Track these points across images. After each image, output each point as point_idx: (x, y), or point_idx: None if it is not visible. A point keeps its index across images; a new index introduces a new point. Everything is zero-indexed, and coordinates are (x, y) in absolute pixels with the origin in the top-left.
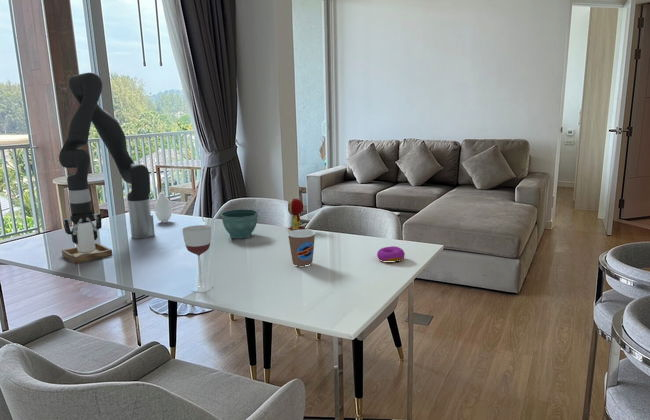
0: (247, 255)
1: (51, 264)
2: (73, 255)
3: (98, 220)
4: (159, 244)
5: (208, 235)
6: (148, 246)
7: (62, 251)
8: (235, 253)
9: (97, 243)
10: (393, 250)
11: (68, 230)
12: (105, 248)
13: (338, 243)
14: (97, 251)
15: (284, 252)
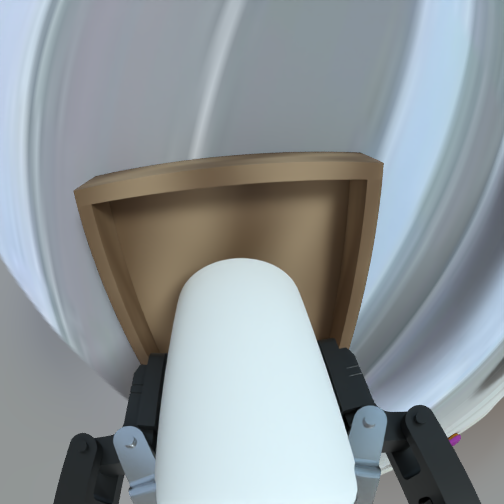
0: (441, 419)
1: (59, 300)
2: (155, 251)
3: (408, 499)
4: (491, 296)
5: None
6: (471, 299)
7: (81, 207)
8: (448, 410)
9: (374, 182)
10: (452, 444)
11: (107, 486)
12: (341, 331)
13: (492, 399)
14: (313, 264)
15: (459, 415)
